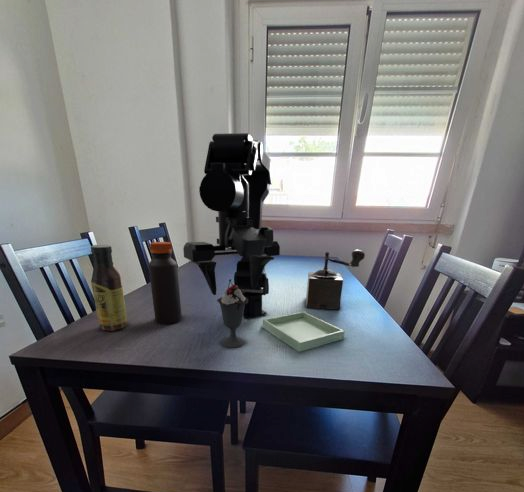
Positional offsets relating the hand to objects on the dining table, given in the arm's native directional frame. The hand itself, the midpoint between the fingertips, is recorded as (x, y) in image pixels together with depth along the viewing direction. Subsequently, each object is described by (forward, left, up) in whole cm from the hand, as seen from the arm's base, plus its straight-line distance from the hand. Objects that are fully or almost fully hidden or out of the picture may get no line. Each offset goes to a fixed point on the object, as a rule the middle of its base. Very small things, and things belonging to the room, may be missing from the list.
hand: (234, 291), depth 58 cm
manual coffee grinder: (-11, +39, -12) cm, 42 cm away
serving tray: (+2, +17, -12) cm, 21 cm away
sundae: (-1, 0, -12) cm, 12 cm away
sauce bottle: (-23, -22, -12) cm, 34 cm away
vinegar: (-22, -9, -12) cm, 26 cm away
